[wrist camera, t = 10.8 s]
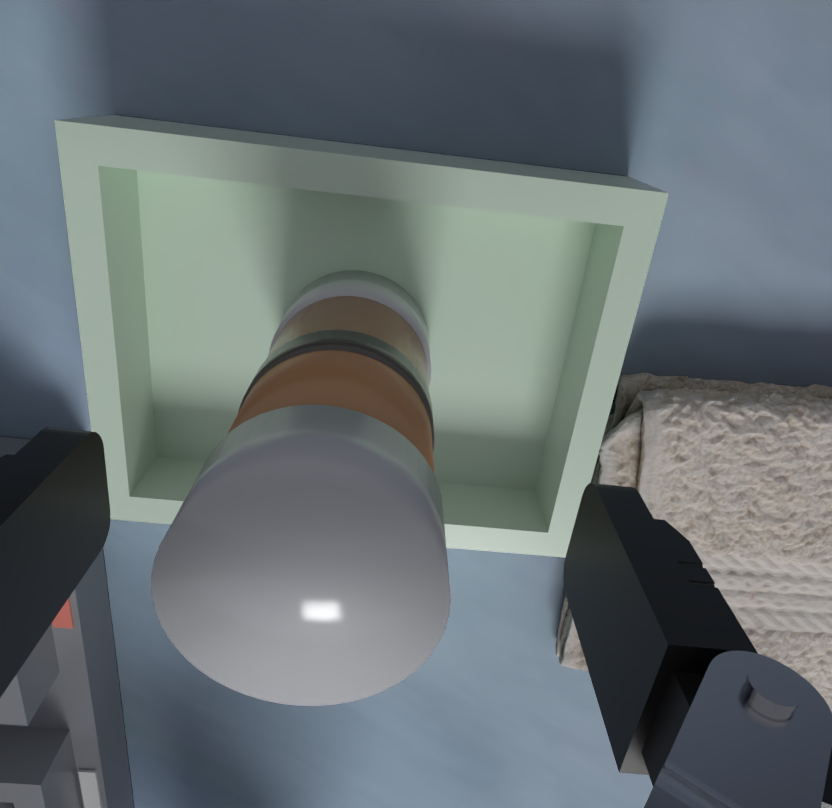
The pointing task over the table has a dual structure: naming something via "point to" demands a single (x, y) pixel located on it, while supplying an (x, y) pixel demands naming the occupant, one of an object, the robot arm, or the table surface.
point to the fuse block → (67, 707)
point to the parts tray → (339, 251)
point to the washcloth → (735, 502)
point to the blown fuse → (317, 511)
